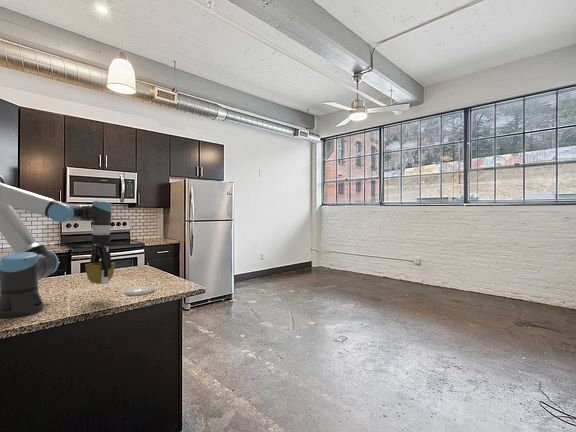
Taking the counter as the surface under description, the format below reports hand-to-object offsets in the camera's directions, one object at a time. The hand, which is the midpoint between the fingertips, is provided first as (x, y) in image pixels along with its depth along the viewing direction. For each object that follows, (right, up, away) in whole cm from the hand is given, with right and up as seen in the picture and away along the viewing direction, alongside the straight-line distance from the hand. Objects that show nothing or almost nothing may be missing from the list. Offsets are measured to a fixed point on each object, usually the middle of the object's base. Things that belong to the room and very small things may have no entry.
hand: (99, 282), depth 143 cm
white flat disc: (+11, -8, +15) cm, 20 cm away
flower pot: (0, -1, 0) cm, 0 cm away
